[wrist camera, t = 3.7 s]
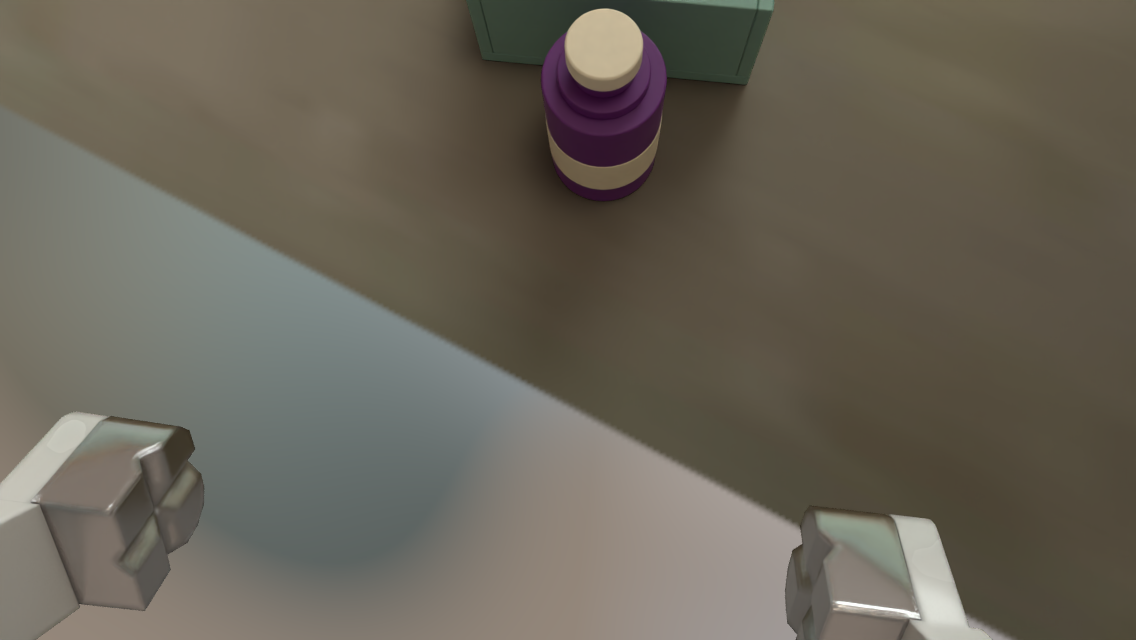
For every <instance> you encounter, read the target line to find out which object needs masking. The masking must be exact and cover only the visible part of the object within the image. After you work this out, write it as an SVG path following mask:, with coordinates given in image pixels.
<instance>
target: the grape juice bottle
mask: <svg viewBox="0 0 1136 640" xmlns="http://www.w3.org/2000/svg"><path fill="white" fill-rule="evenodd" d="M666 84H667V73H666V66H665V62H664V60H663V57H662V55H661V53H660V51H659V49H658V48H657V46H656V45H655V44H654V42H653V41H652V40H651V39H650V38H649V37H648V36H647V35H645V34H644V33H643V32H642V31H640V29H639V28H638V26H637V25H636V23H635V22H634V21H633V20H632V19H631V18H630V17H628V16H627V15H625V14H624V13H622V12H619V11H617V10H613V9H596V10H592V11H589V12H587V13H585V14H583V15H582V16H580V17H579V18H578V19H576V20H575V22H574V23H573V24H572V25H571V26H570V28H569V30H568V32H566V33H565V34H563V35H562V36H561V37H560V38H559V39H558V40H557V41H556V42H555V43H554V44H553V46H552V47H551V49H550V50H549V52H548V54H547V56H546V58H545V60H544V63H543V67H542V72H541V88H542V94H543V101H544V107H545V117H546V126H547V132H548V139H549V145H550V150H551V154H552V159H553V164H554V167H555V170H556V172H557V174H558V176H559V178H560V179H561V180H562V182H563V183H564V184H565V185H566V186H567V187H568V188H569V189H570V190H571V191H573V192H574V193H576V194H578V195H580V196H582V197H584V198H587V199H591V200H596V201H611V200H616V199H619V198H622V197H625V196H627V195H629V194H631V193H632V192H634V191H635V190H637V189H638V188H639V187H640V186H641V185H642V184H643V183H644V182H645V181H646V179H647V178H648V176H649V174H650V172H651V170H652V168H653V165H654V160H655V154H656V151H657V147H658V141H659V135H660V128H661V122H662V110H663V104H664V97H665V91H666Z"/></svg>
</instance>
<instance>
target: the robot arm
mask: <svg viewBox="0 0 1136 640" xmlns="http://www.w3.org/2000/svg"><path fill="white" fill-rule="evenodd" d="M194 450H195V447H194V444H193V440H192V437H191V434H190V431H189V430H187V429H185V428H183V427H179V426H173V425H166V424H160V423H153V422H147V421H140V420H133V419H126V418H120V417H114V416H110V417H108V416H102V415H95V414H89V413H82V412H76V411H75V412H72V413H70V414H68V415H65V416H63V417H62V418H61V419H60V420H59V421H58V422H57V423H56V424H55V425H54V426H53V427H52V428H51V429H50V430H49V432H48V433H47V434H46V435H45V436H44V437H43V438H42V439H41V440H40V441H39V442H38V444H36V446H35V447H34V448H33V449H32V450H31V451H30V452H29V453H28V454H27V455H26V456H25V457H24V458H23V460H22V461H21V462H20V463H19V464H18V465H17V466H16V467H15V468H14V469H13V470H12V471H11V472H10V474H9V475H8V476H7V477H6V478H5V479H4V480H3V481H2V482H1V483H0V640H36V639H37V638H39V637H40V636H41V635H43V634H44V633H46V632H47V631H48V630H50V629H51V628H52V627H54V626H55V625H57V624H58V623H60V622H61V621H62V620H64V619H65V618H67V617H68V616H69V615H71V614H72V613H73V612H75V611H76V610H77V609H79V608H80V605H79V604H84V605H93V606H103V607H112V608H121V609H130V610H139V611H145V609H146V608H147V606H148V605H149V603H150V602H151V600H152V599H153V597H154V595H155V594H156V592H157V591H158V589H159V587H160V586H161V584H162V582H163V581H164V579H165V578H166V576H167V575H168V573H169V571H170V564H169V560H168V554H169V553H171V552H173V551H174V550H176V549H178V548H179V547H181V546H183V545H184V544H186V543H187V542H188V541H189V539H190V537H191V536H192V534H193V532H194V530H195V529H196V527H197V525H198V522H199V518H200V515H201V512H202V509H203V505H204V485H203V480H202V476H201V473H200V472H199V471H198V470H197V469H196V468H195V467H194V466H193V465H192V464H191V463H190V462H188V459H189V457H190V456H191V455H192V453H193V452H194ZM800 529H801V536H802V543H803V544H802V545H800V546H798V547H797V548H795V549H794V550H793V551H792V555H791V558H790V562H789V566H788V571H787V579H786V588H785V594H786V595H785V599H786V613H787V623H788V624H789V625H790V627H791V628H792V629H793V630H794V631H795V633H796V634H797V637H796V640H992V639H991V638H990V637H989V636H988V635H987V634H986V633H985V632H984V631H983V630H982V629H976V628H970V627H969V624H968V621H967V618H966V615H965V612H964V609H963V606H962V603H961V600H960V597H959V594H958V591H957V588H956V585H955V582H954V579H953V576H952V573H951V570H950V567H949V564H948V561H947V558H946V555H945V552H944V549H943V545H942V542H941V539H940V536H939V533H938V530H937V527H936V525H935V524H934V523H933V522H932V521H931V520H930V519H924V518H916V517H907V516H898V515H886V514H880V513H871V512H863V511H854V510H845V509H837V508H828V507H820V506H811V505H809V507H808V508H807V510H806V511H805V513H804V516H803V519H802V522H801V525H800Z"/></svg>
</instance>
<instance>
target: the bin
mask: <svg viewBox="0 0 1136 640" xmlns="http://www.w3.org/2000/svg"><path fill="white" fill-rule="evenodd" d="M466 1H467V5H468V8H469V12H470V16H471V19H472V23H473V26H474V30H475V33H476V37H477V40H478V44H479V48H480V51H481V55H482V58H483V59H484V60H493V61H504V62H514V63H525V64H535V65H543V63H544V60H545V58H546V56H547V54H548V52H549V50H550V49H551V47H552V46H553V44H554V43H555V42H556V41H557V40H558V39H559V38H560V37H561V36H562V35H563V34H565V33H566V32H568V30H569V28H570V26H571V25H572V24H573V23H574V22H575V20H576V19H578V18H579V17H580V16H582V15H583V14H585V13H587V12H589V11H592V10H596V9H613V10H617V11H619V12H622V13H624V14H625V15H627V16H628V17H630V18H631V19H632V20H633V21H634V22H635V23H636V25H637V26H638V28H639V29H640V31H642V32H643V33H644V34H645V35H647V36H648V37H649V38H650V39H651V40H652V41H653V42H654V44H655V45H656V46H657V48H658V49H659V51H660V53H661V55H662V57H663V60H664V62H665V66H666V73H667V77H671V78H681V79H692V80H702V81H713V82H723V83H734V84H744V85H746V84H747V83H748V80H749V77H750V74H751V72H752V69H753V66H754V63H755V60H756V58H757V55H758V52H759V49H760V46H761V44H762V41H763V38H764V35H765V32H766V30H767V27H768V24H769V21H770V18H771V16H772V13H773V8H774V0H466Z"/></svg>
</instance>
